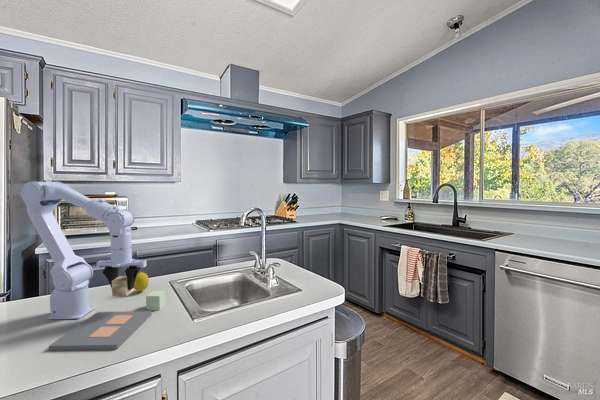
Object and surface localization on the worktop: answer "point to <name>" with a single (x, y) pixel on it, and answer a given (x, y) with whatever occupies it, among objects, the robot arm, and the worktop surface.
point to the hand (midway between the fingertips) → (122, 289)
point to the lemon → (141, 282)
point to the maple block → (120, 286)
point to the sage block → (155, 300)
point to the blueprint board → (102, 331)
